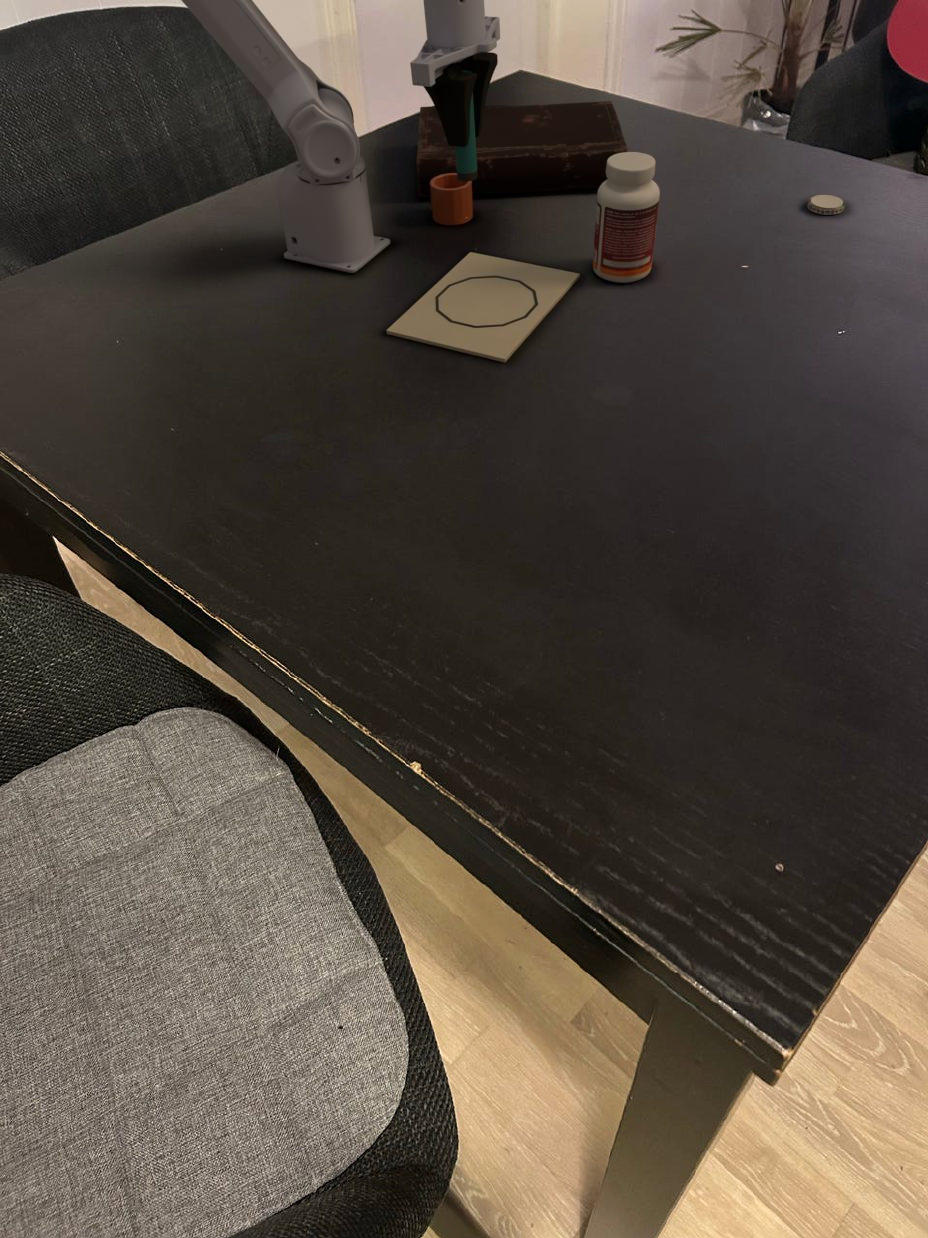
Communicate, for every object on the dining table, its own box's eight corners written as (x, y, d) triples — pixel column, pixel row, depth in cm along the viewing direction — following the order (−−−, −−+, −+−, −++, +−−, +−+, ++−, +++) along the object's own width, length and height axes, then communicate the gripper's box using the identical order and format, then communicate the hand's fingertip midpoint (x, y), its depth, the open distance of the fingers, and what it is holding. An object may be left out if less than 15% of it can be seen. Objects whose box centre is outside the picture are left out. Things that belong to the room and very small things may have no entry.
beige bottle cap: (802, 210, 100) (803, 204, 100) (814, 196, 102) (815, 191, 102) (837, 217, 99) (838, 211, 98) (848, 203, 101) (850, 197, 100)
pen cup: (425, 221, 103) (422, 186, 100) (444, 205, 106) (442, 170, 103) (461, 228, 101) (459, 192, 98) (480, 211, 104) (479, 176, 101)
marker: (453, 179, 94) (445, 75, 87) (463, 171, 95) (456, 68, 88) (471, 182, 93) (465, 77, 86) (481, 174, 95) (475, 70, 87)
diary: (625, 192, 106) (629, 148, 102) (419, 202, 106) (415, 158, 103) (607, 135, 118) (610, 93, 115) (423, 144, 119) (420, 103, 115)
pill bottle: (663, 272, 92) (677, 162, 84) (618, 290, 90) (628, 178, 82) (624, 251, 96) (634, 143, 87) (580, 268, 94) (586, 159, 85)
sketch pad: (386, 333, 86) (386, 329, 86) (470, 255, 97) (470, 251, 96) (505, 362, 82) (505, 358, 81) (579, 277, 92) (580, 272, 92)
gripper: (452, 8, 76) (464, 171, 86) (525, -36, 84) (528, 118, 94) (384, 4, 79) (403, 163, 89) (461, -38, 87) (471, 112, 97)
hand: (464, 140), depth 92 cm, fingers closed on marker, 2 cm apart
